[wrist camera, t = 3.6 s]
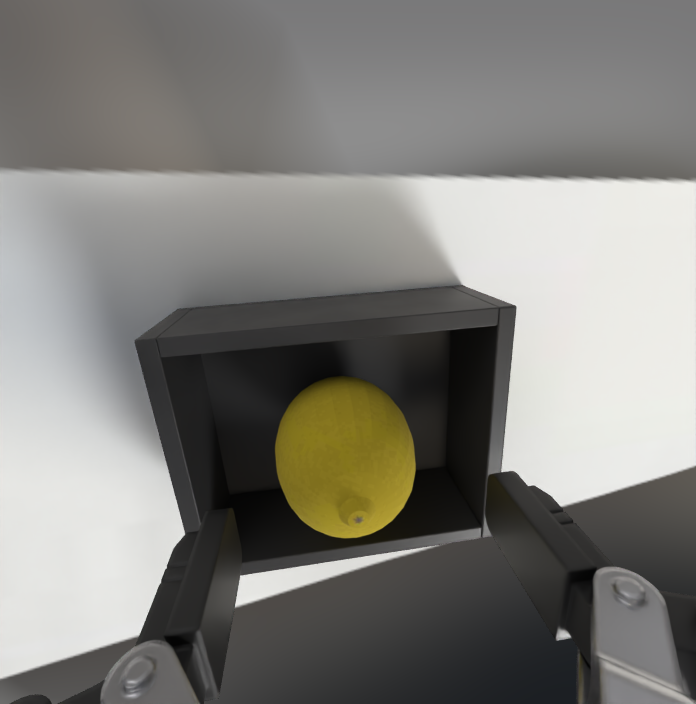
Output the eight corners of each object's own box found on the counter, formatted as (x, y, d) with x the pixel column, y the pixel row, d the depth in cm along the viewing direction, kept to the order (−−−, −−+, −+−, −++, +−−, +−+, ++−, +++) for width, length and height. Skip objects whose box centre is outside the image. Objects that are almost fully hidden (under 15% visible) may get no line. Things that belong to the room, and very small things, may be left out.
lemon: (395, 356, 19) (461, 446, 11) (379, 451, 20) (427, 585, 13) (283, 347, 18) (272, 440, 10) (276, 448, 19) (263, 590, 12)
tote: (219, 503, 20) (197, 582, 16) (177, 308, 17) (133, 340, 12) (454, 471, 22) (495, 536, 17) (463, 284, 18) (517, 305, 14)
